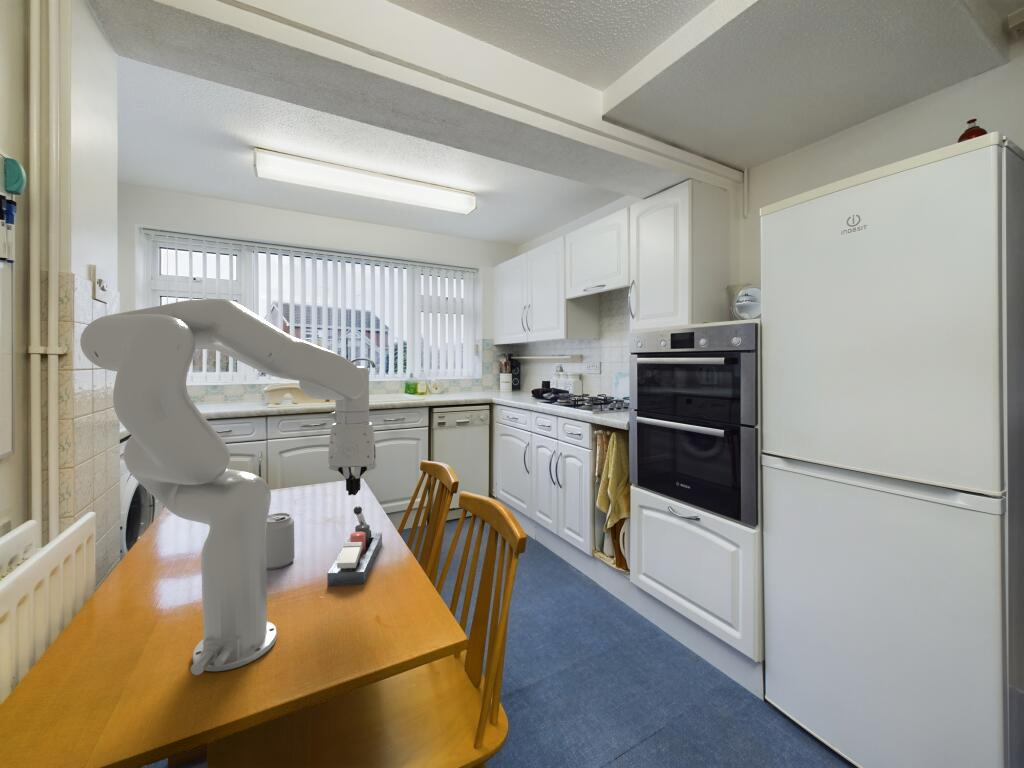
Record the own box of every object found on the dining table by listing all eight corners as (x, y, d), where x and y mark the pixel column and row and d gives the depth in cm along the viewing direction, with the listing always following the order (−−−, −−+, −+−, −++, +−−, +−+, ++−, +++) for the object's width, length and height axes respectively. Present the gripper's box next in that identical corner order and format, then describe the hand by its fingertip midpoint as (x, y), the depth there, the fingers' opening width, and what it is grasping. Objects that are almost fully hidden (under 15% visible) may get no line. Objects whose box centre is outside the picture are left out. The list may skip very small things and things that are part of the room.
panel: (364, 584, 99) (363, 567, 99) (327, 585, 98) (327, 568, 98) (382, 543, 121) (382, 529, 120) (352, 544, 120) (352, 530, 120)
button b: (368, 546, 113) (368, 529, 113) (353, 546, 113) (353, 529, 112) (371, 540, 117) (370, 523, 116) (357, 540, 116) (357, 524, 116)
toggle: (368, 530, 117) (359, 506, 117) (360, 533, 117) (351, 509, 117) (370, 527, 120) (361, 503, 119) (362, 530, 119) (353, 506, 119)
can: (280, 572, 104) (279, 523, 103) (253, 568, 105) (252, 520, 105) (301, 558, 111) (300, 512, 110) (275, 555, 113) (274, 509, 112)
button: (363, 554, 108) (363, 537, 108) (348, 555, 108) (348, 537, 107) (366, 548, 112) (366, 531, 111) (352, 548, 111) (352, 531, 111)
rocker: (355, 567, 99) (355, 562, 99) (337, 568, 99) (336, 562, 98) (362, 547, 106) (362, 541, 105) (345, 547, 105) (344, 542, 105)
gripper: (314, 420, 99) (315, 499, 100) (382, 420, 100) (382, 498, 101) (324, 415, 106) (325, 489, 107) (387, 415, 108) (387, 488, 109)
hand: (353, 493), depth 104 cm, fingers closed
